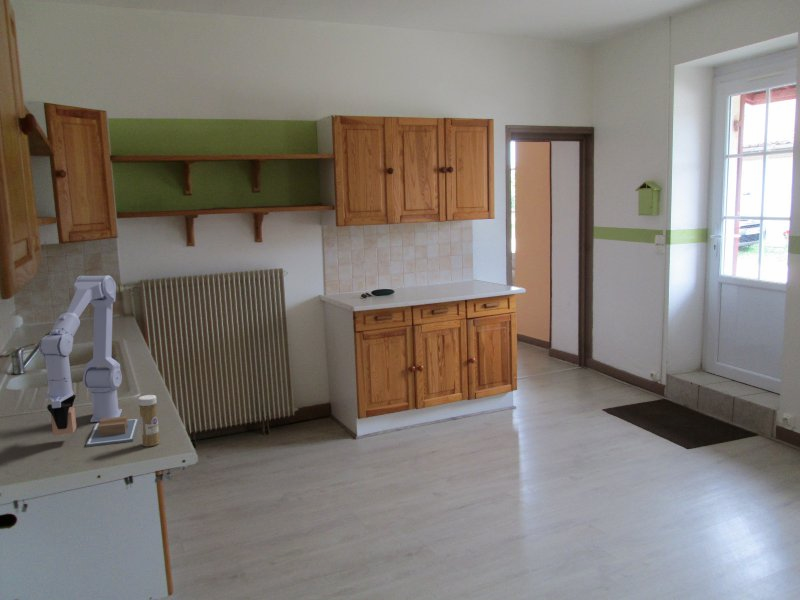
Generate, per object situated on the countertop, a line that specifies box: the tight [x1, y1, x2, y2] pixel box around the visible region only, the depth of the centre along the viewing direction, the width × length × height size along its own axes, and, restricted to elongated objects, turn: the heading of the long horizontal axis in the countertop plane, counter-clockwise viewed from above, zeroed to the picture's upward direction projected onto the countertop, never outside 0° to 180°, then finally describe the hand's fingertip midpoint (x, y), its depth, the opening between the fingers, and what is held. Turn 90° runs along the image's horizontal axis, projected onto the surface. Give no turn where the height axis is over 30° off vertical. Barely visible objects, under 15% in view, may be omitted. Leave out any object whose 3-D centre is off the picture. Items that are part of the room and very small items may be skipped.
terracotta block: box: [50, 406, 77, 436], centre depth 182 cm, size 5×5×6 cm
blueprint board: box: [85, 418, 140, 448], centre depth 189 cm, size 18×12×1 cm, turn 17°
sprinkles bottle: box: [138, 394, 161, 447], centre depth 179 cm, size 5×5×13 cm
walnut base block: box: [98, 415, 129, 437], centre depth 189 cm, size 7×7×3 cm
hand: (64, 425), depth 182 cm, fingers closed on terracotta block, 5 cm apart
